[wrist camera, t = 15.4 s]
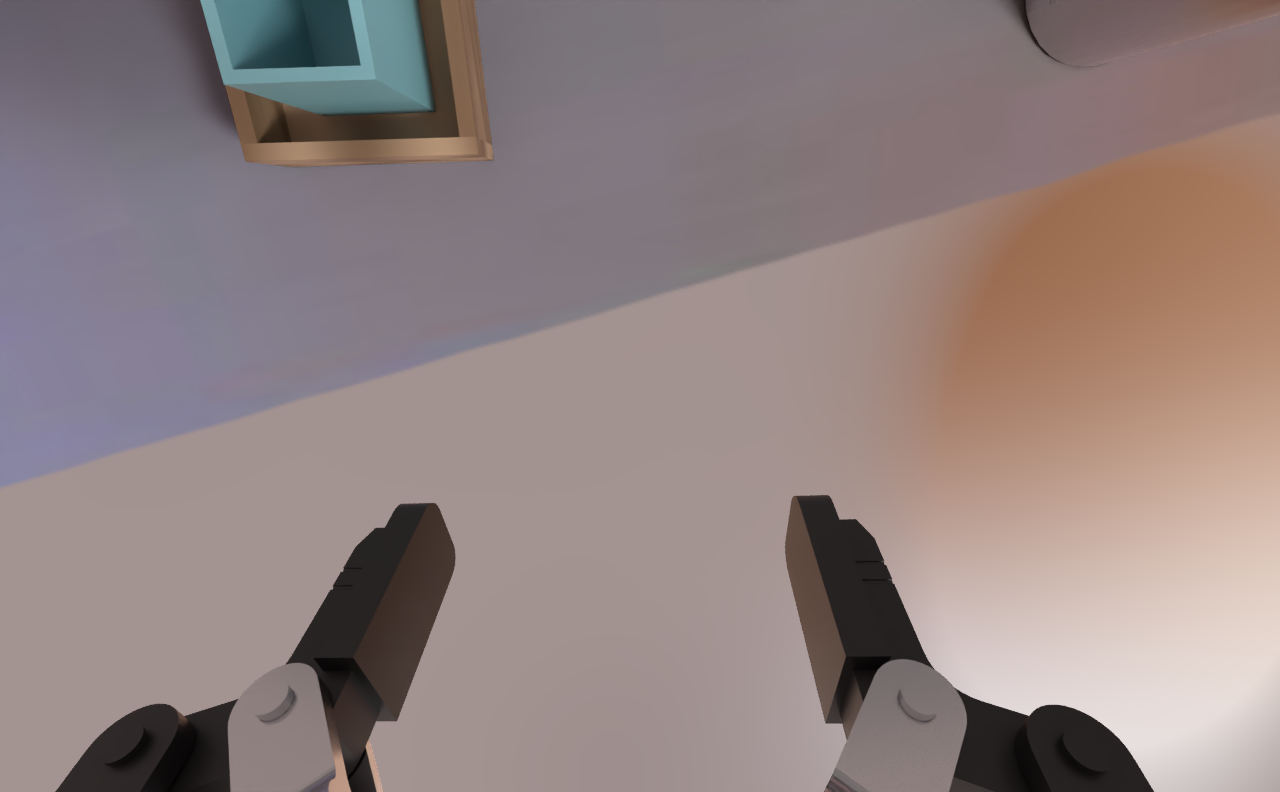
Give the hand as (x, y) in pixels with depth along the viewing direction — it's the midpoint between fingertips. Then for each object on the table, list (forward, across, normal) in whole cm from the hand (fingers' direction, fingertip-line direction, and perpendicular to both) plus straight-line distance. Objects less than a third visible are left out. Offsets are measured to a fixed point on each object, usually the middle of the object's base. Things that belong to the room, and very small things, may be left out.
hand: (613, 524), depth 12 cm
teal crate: (+24, +14, -9) cm, 30 cm away
